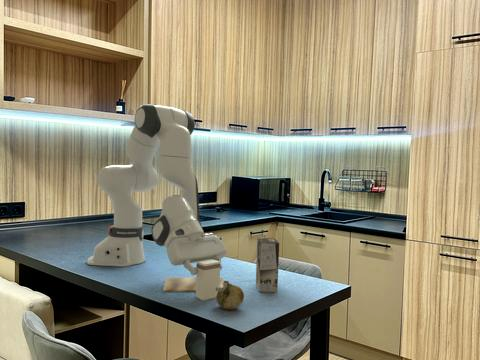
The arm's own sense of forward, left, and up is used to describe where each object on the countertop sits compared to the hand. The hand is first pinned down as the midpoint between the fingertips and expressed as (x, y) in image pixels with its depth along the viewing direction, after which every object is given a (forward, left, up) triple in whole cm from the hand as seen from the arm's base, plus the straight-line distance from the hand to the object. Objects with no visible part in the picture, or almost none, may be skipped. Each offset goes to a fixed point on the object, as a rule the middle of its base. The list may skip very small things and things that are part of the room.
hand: (207, 271), depth 132 cm
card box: (0, 0, -8) cm, 8 cm away
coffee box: (+20, +9, -8) cm, 23 cm away
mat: (-4, +12, -8) cm, 15 cm away
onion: (+6, -10, -8) cm, 14 cm away
